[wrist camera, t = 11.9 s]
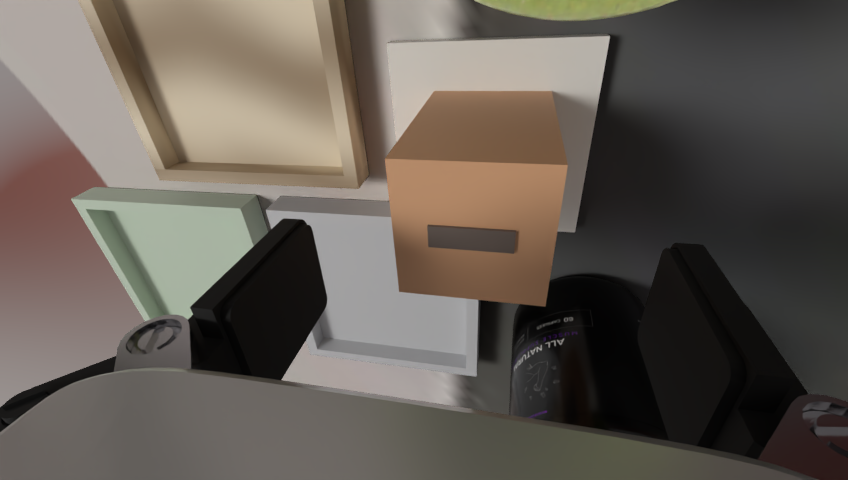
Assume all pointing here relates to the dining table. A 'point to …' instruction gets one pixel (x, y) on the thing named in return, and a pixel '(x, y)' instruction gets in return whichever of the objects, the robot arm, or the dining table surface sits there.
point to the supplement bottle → (583, 360)
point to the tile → (510, 85)
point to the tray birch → (237, 88)
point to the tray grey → (378, 293)
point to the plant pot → (573, 8)
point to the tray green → (170, 241)
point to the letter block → (478, 196)
